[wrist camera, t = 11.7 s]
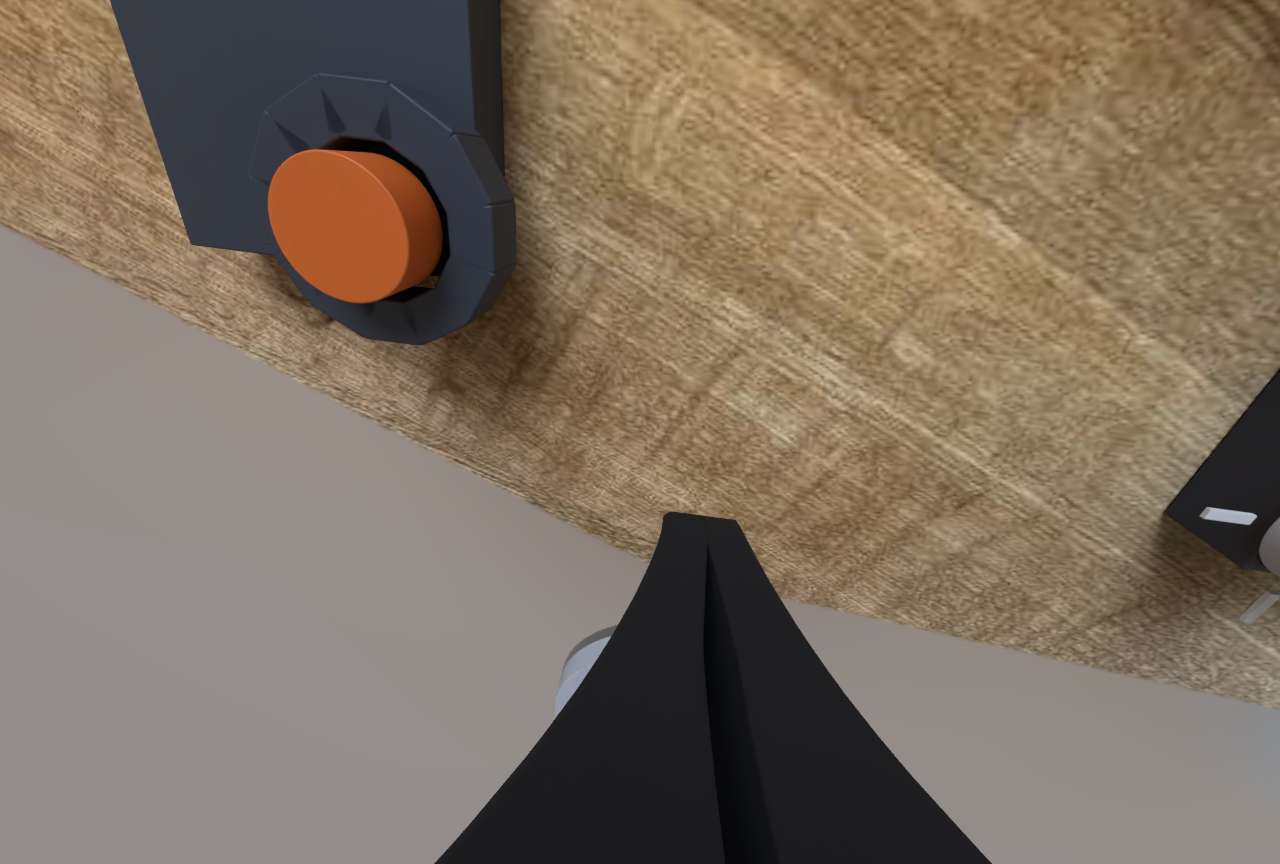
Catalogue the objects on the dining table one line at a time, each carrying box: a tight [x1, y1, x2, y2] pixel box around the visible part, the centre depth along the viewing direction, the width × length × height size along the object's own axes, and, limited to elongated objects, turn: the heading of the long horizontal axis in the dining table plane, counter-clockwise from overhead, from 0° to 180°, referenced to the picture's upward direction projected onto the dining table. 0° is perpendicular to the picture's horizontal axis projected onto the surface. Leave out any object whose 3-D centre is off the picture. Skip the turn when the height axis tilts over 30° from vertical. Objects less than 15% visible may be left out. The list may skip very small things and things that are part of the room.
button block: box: [110, 0, 516, 346], centre depth 12 cm, size 12×10×4 cm
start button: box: [268, 149, 443, 303], centre depth 11 cm, size 3×3×2 cm
